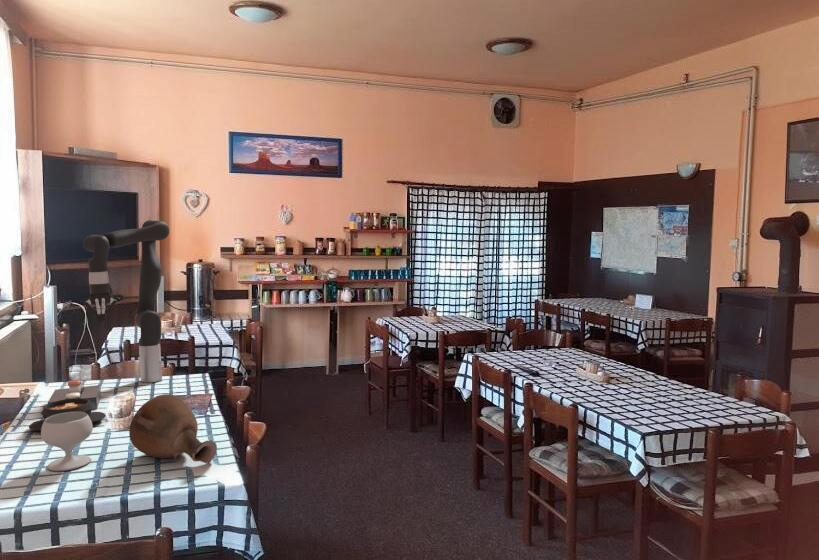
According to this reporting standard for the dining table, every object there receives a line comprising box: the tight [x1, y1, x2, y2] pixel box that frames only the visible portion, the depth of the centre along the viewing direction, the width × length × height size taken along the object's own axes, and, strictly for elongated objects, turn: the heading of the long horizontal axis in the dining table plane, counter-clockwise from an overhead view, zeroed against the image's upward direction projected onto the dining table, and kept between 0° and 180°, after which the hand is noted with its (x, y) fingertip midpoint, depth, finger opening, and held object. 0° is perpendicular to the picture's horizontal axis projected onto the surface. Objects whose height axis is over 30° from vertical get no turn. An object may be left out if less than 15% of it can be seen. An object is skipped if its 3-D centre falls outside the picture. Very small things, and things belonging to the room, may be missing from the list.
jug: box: [128, 393, 218, 464], centre depth 196 cm, size 20×20×30 cm
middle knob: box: [67, 379, 83, 394], centre depth 255 cm, size 5×5×6 cm
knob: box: [66, 392, 80, 399], centre depth 249 cm, size 5×5×6 cm
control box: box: [47, 384, 102, 411], centre depth 255 cm, size 17×20×5 cm
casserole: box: [28, 398, 107, 431], centre depth 229 cm, size 25×19×8 cm
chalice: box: [40, 412, 94, 472], centre depth 192 cm, size 14×14×15 cm
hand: (102, 322), depth 267 cm, fingers closed
